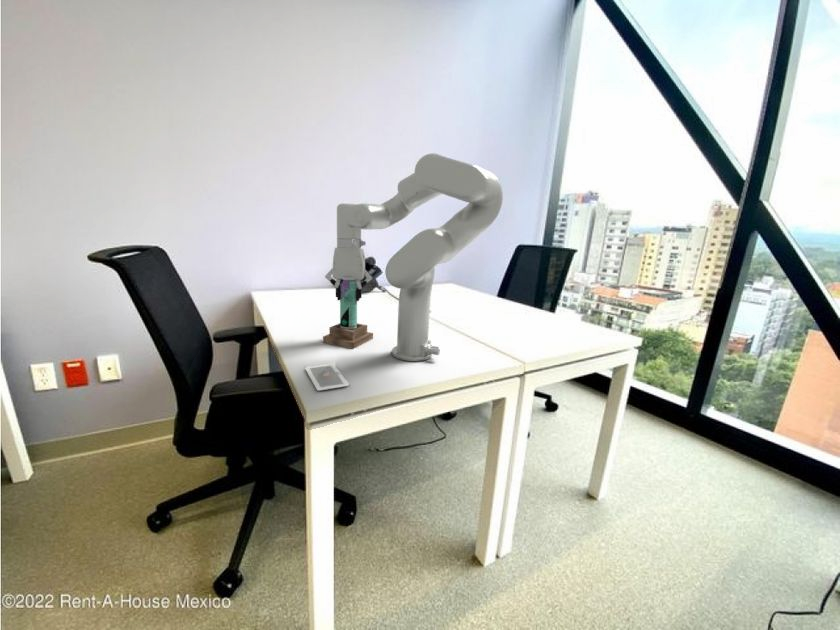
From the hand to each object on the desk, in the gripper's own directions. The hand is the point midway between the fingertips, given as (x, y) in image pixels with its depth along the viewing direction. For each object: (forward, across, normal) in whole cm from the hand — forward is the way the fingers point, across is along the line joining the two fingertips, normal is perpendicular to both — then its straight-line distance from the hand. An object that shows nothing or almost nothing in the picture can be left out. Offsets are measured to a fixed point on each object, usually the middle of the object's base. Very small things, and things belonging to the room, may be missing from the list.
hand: (348, 299), depth 123 cm
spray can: (+10, 0, 0) cm, 10 cm away
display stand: (+14, 0, 0) cm, 14 cm away
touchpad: (+15, +1, +31) cm, 34 cm away
